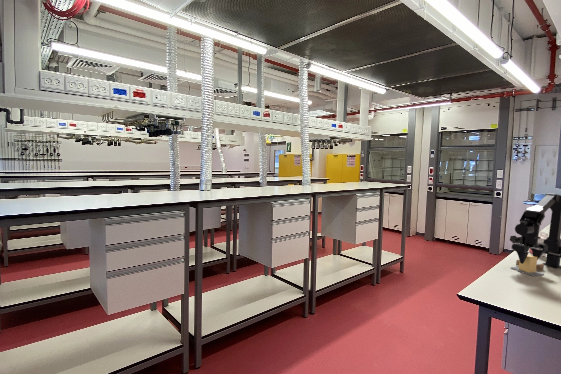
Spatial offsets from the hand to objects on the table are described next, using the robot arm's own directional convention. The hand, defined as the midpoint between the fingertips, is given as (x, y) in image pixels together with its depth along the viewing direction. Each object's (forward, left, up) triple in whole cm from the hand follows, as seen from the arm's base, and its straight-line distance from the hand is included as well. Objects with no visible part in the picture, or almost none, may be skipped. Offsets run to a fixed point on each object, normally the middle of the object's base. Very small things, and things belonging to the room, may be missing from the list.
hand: (527, 262), depth 155 cm
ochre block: (0, 0, -4) cm, 4 cm away
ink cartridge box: (-41, -20, -5) cm, 46 cm away
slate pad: (0, 0, -5) cm, 5 cm away
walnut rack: (-9, -4, -5) cm, 11 cm away
